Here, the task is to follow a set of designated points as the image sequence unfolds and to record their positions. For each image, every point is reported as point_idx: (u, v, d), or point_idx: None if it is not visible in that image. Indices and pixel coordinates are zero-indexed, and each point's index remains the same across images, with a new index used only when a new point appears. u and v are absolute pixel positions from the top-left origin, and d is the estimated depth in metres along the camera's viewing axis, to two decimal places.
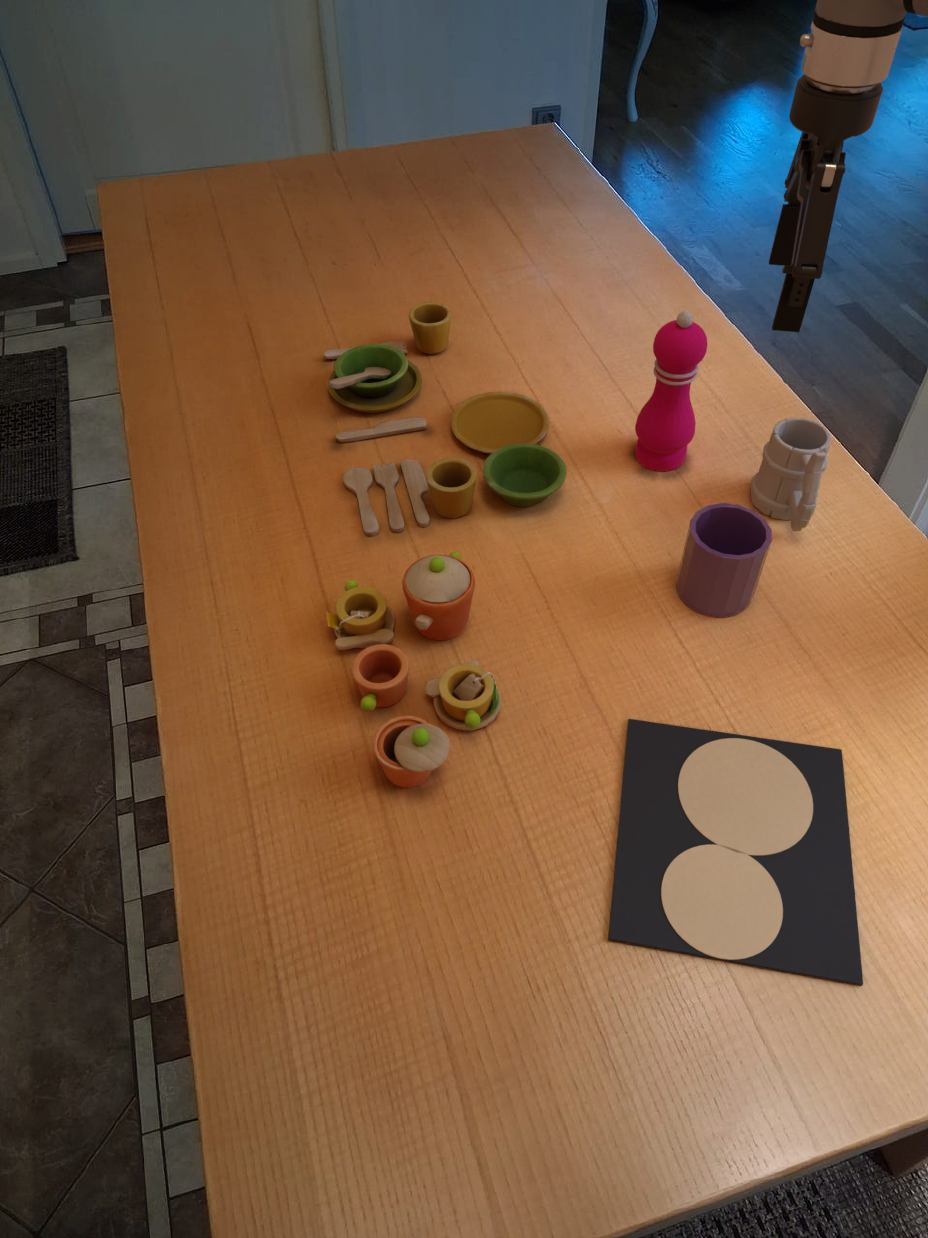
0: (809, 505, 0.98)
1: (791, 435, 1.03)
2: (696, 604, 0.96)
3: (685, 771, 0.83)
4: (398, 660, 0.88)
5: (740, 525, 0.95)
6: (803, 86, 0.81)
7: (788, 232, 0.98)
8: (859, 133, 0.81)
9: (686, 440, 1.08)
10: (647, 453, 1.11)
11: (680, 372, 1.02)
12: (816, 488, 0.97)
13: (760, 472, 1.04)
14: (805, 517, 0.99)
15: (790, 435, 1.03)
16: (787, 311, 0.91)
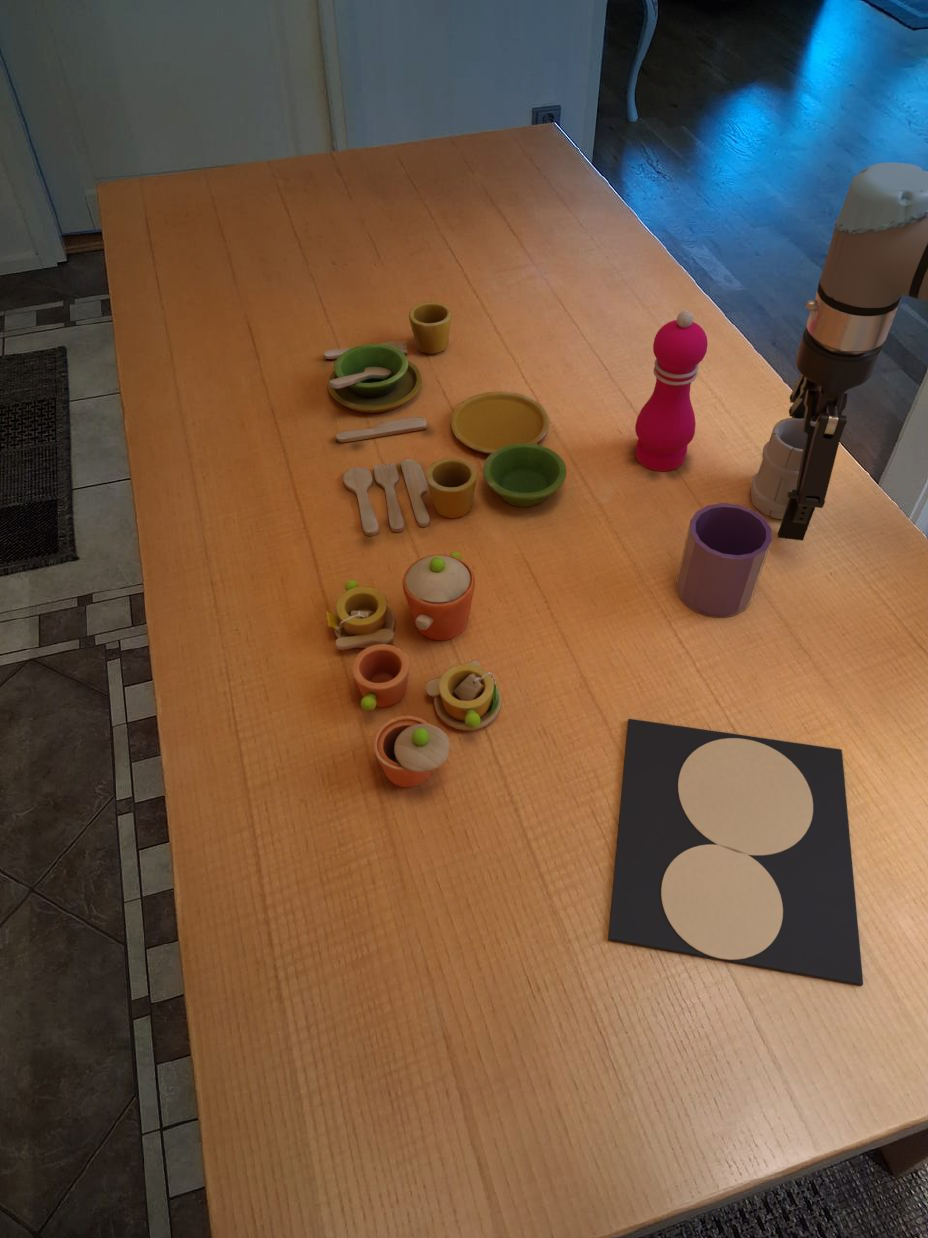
0: None
1: (791, 435, 1.04)
2: (696, 604, 0.96)
3: (685, 771, 0.83)
4: (398, 660, 0.88)
5: (740, 525, 0.95)
6: (809, 343, 0.88)
7: None
8: (860, 384, 0.89)
9: (686, 440, 1.08)
10: (647, 453, 1.11)
11: (680, 371, 1.02)
12: None
13: (760, 472, 1.04)
14: None
15: (790, 435, 1.03)
16: (792, 524, 0.99)
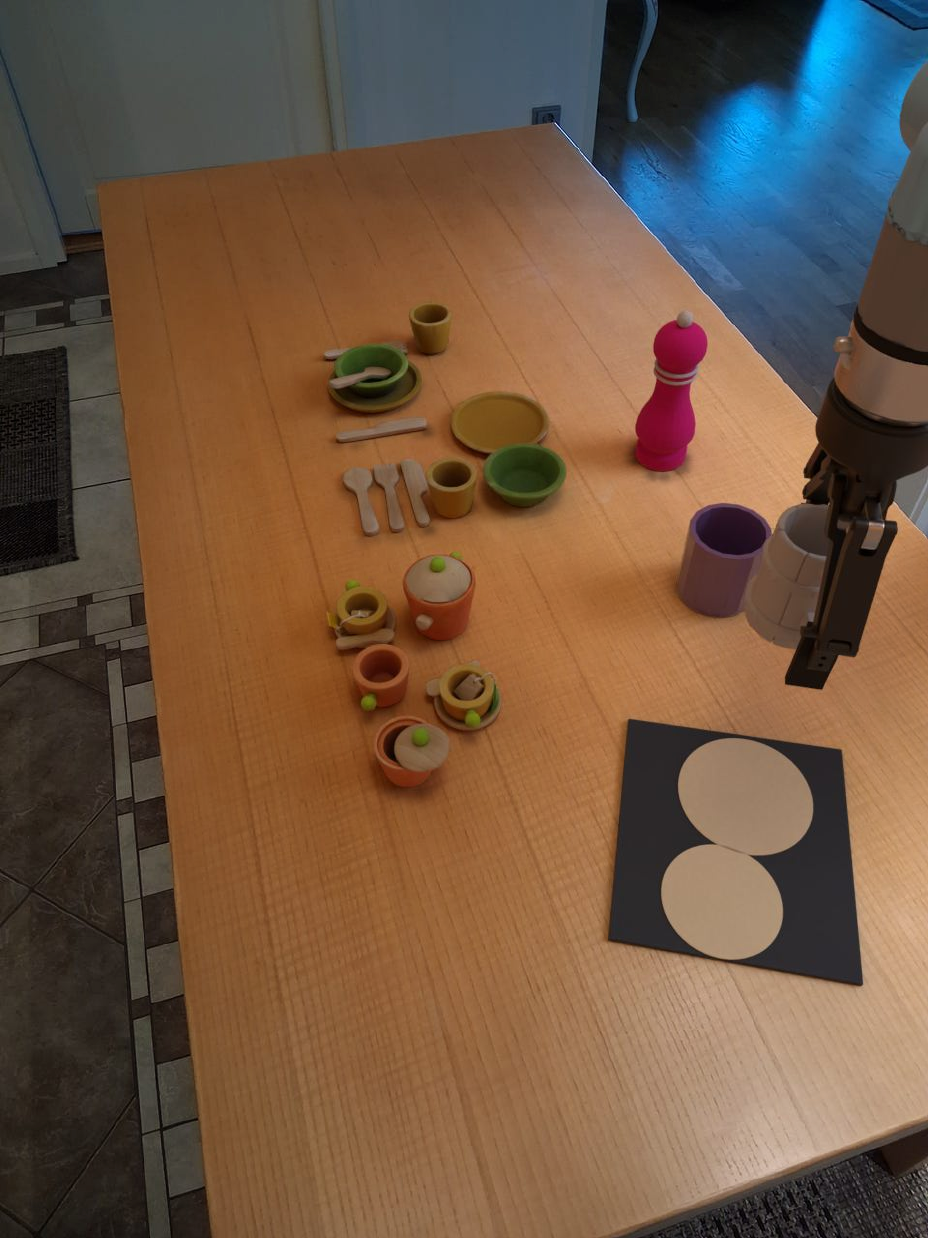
0: None
1: (804, 527, 0.70)
2: (696, 604, 0.96)
3: (685, 771, 0.83)
4: (398, 660, 0.88)
5: (740, 525, 0.95)
6: (838, 405, 0.55)
7: None
8: (919, 470, 0.55)
9: (686, 440, 1.08)
10: (647, 453, 1.11)
11: (680, 371, 1.02)
12: None
13: (758, 580, 0.71)
14: None
15: (803, 527, 0.70)
16: (806, 668, 0.65)
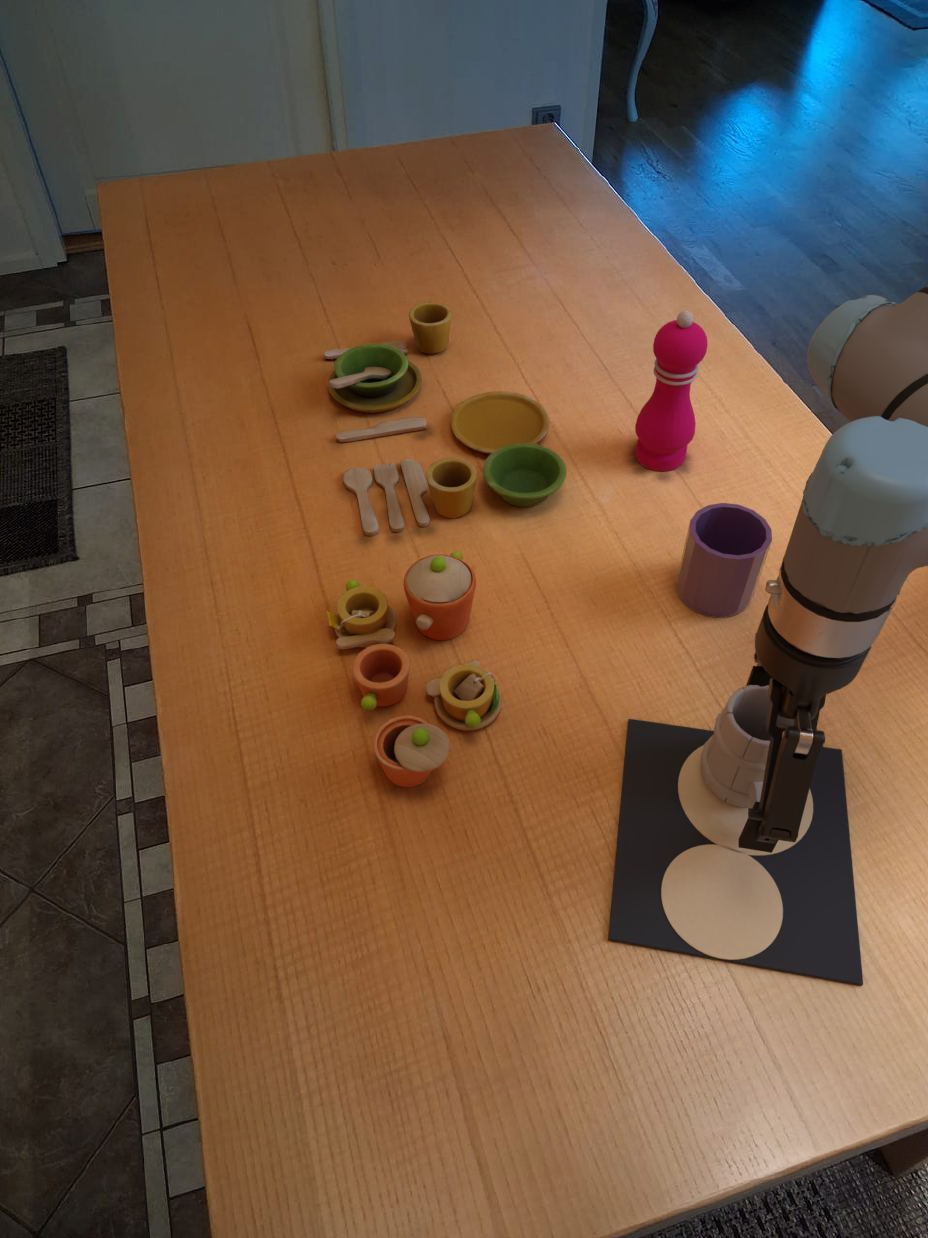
0: None
1: (752, 703, 0.79)
2: (696, 604, 0.96)
3: (685, 771, 0.83)
4: (399, 660, 0.88)
5: (740, 525, 0.95)
6: (771, 633, 0.63)
7: None
8: None
9: (686, 440, 1.08)
10: (647, 453, 1.11)
11: (680, 371, 1.02)
12: None
13: (712, 748, 0.80)
14: None
15: (751, 703, 0.79)
16: (756, 837, 0.73)
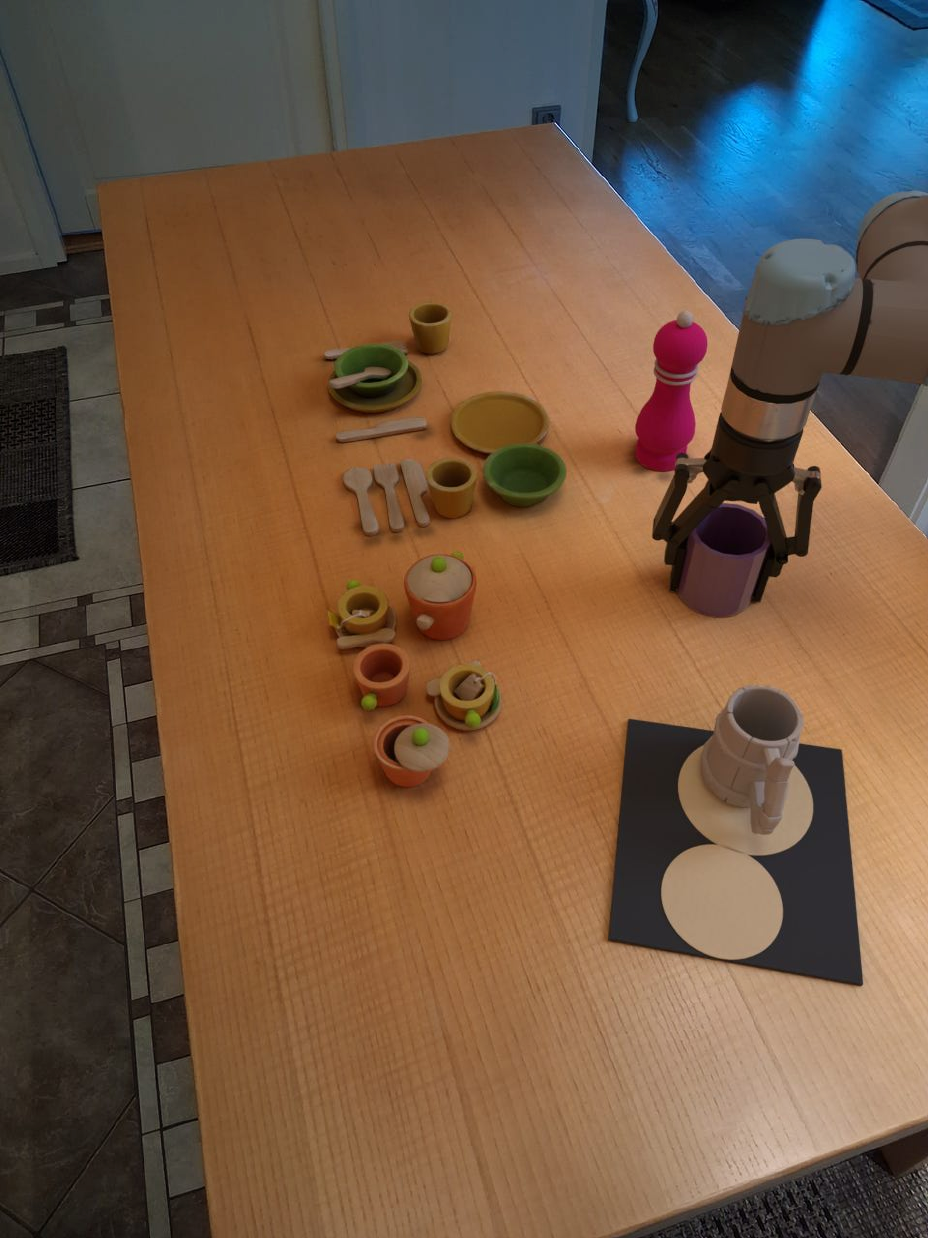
0: (773, 818, 0.73)
1: (752, 703, 0.79)
2: (696, 604, 0.96)
3: (685, 771, 0.83)
4: (399, 659, 0.88)
5: (740, 525, 0.95)
6: None
7: None
8: (722, 461, 0.83)
9: (686, 440, 1.08)
10: (647, 453, 1.11)
11: (680, 371, 1.02)
12: (782, 799, 0.72)
13: (712, 748, 0.80)
14: (768, 828, 0.75)
15: (751, 703, 0.79)
16: None
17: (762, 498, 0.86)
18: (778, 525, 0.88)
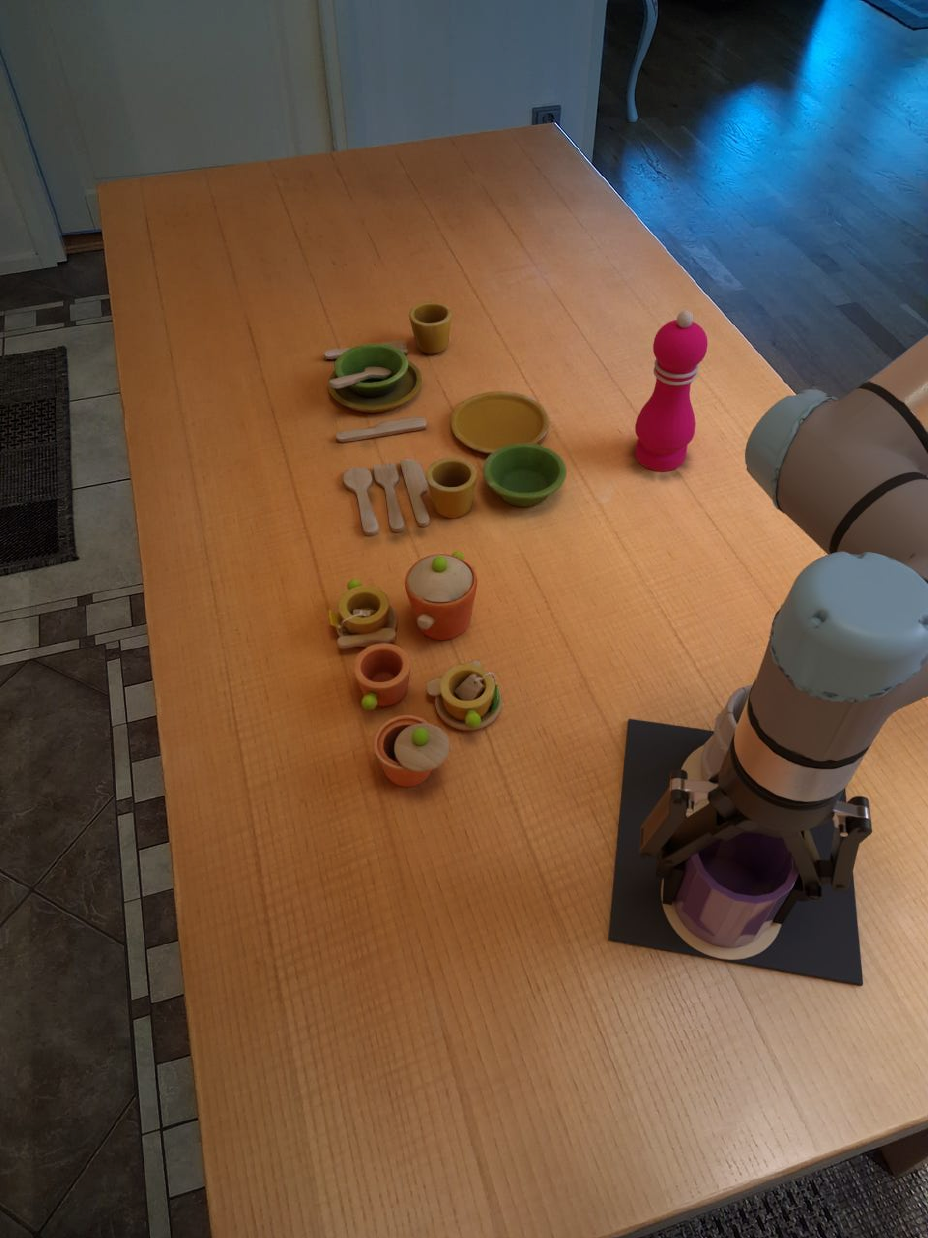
0: None
1: None
2: (698, 931, 0.72)
3: None
4: (399, 659, 0.89)
5: None
6: None
7: None
8: (734, 805, 0.59)
9: (686, 440, 1.08)
10: (647, 453, 1.11)
11: (680, 371, 1.02)
12: None
13: (712, 748, 0.80)
14: None
15: None
16: None
17: (789, 838, 0.62)
18: (809, 861, 0.65)
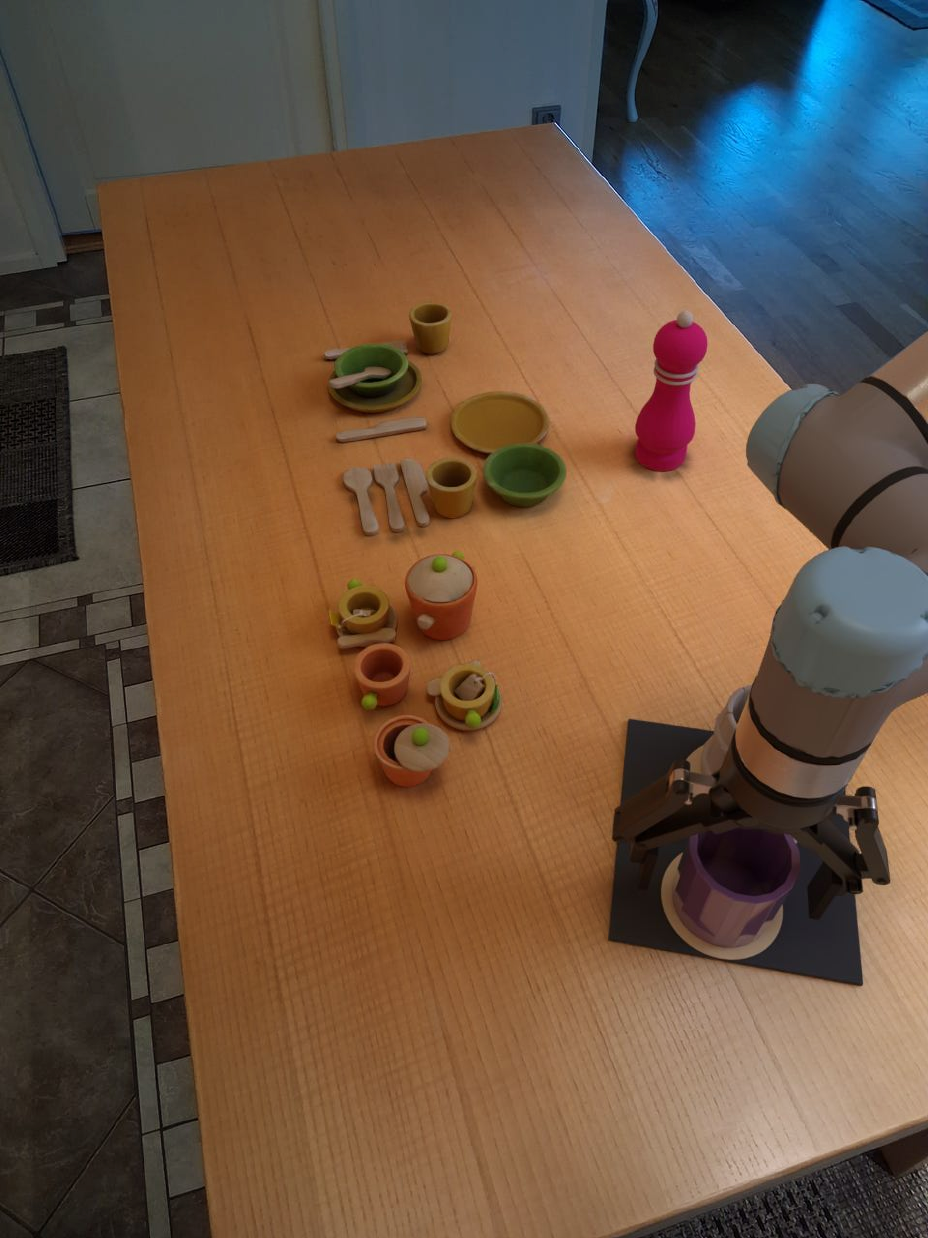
0: None
1: None
2: (698, 931, 0.72)
3: None
4: (400, 659, 0.89)
5: None
6: None
7: (820, 880, 0.70)
8: (736, 802, 0.59)
9: (686, 440, 1.08)
10: (647, 453, 1.11)
11: (680, 371, 1.02)
12: None
13: (712, 748, 0.80)
14: None
15: None
16: None
17: (797, 835, 0.62)
18: (834, 855, 0.64)
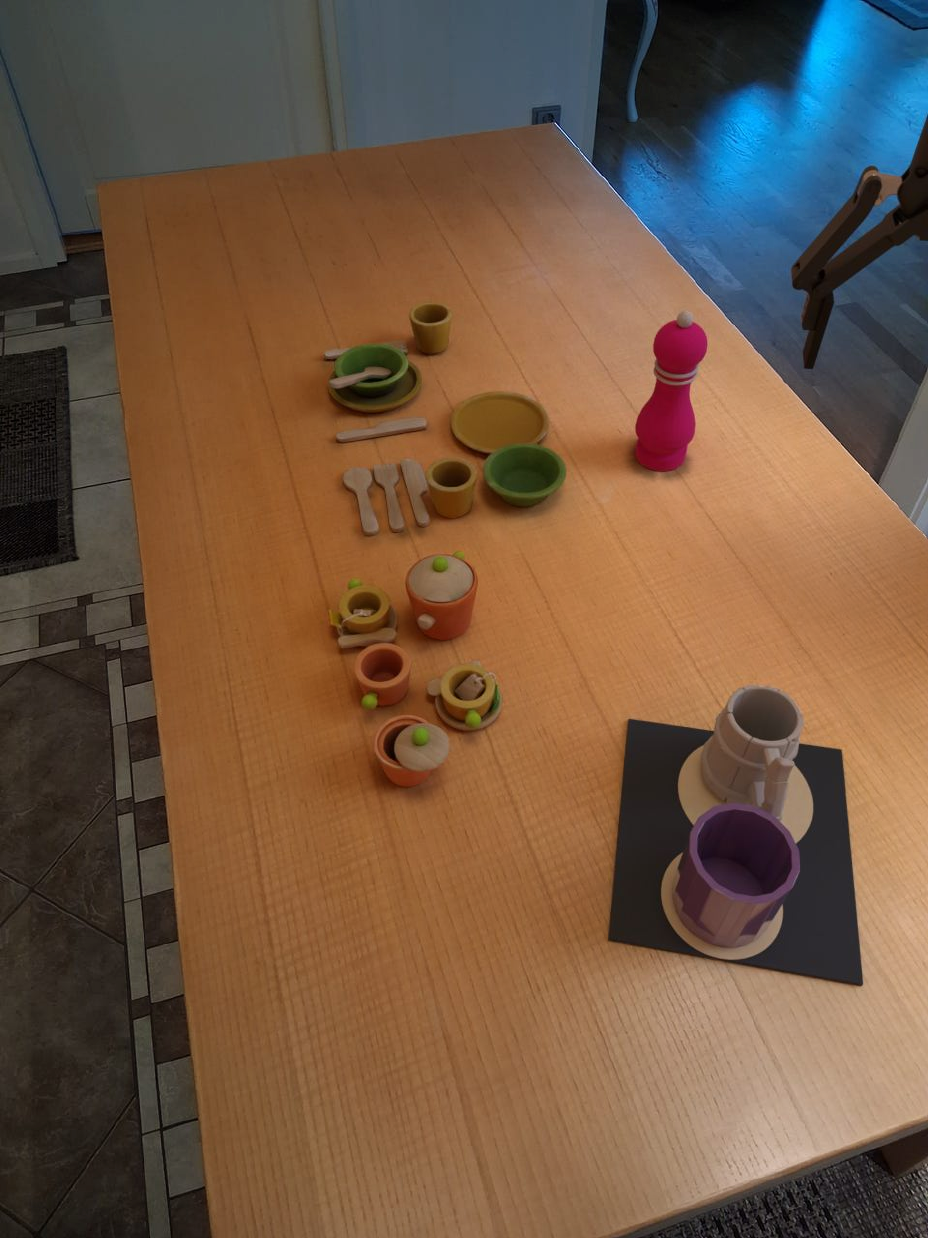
0: None
1: (752, 703, 0.79)
2: (698, 931, 0.72)
3: (685, 771, 0.83)
4: (400, 659, 0.89)
5: (756, 829, 0.72)
6: None
7: None
8: None
9: (686, 440, 1.08)
10: (647, 453, 1.11)
11: (680, 371, 1.02)
12: (782, 799, 0.72)
13: (712, 748, 0.80)
14: None
15: (751, 703, 0.79)
16: (809, 335, 0.79)
17: None
18: None
